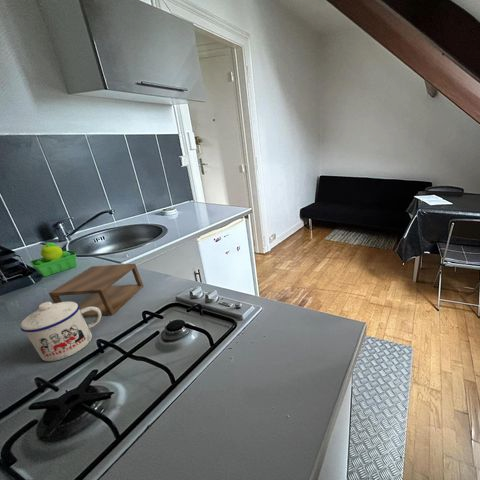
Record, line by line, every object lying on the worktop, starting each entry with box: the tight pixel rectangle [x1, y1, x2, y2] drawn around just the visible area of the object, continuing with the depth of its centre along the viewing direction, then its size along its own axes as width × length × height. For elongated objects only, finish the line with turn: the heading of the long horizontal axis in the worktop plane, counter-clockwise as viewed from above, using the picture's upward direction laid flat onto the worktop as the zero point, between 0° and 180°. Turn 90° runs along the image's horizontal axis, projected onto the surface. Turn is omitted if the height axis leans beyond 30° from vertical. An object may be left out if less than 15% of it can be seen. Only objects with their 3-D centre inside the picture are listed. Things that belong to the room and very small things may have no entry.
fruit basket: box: [29, 242, 77, 278], centre depth 93 cm, size 11×9×11 cm
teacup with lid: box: [20, 301, 102, 362], centre depth 57 cm, size 12×9×12 cm
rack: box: [48, 263, 144, 318], centre depth 73 cm, size 13×14×8 cm
